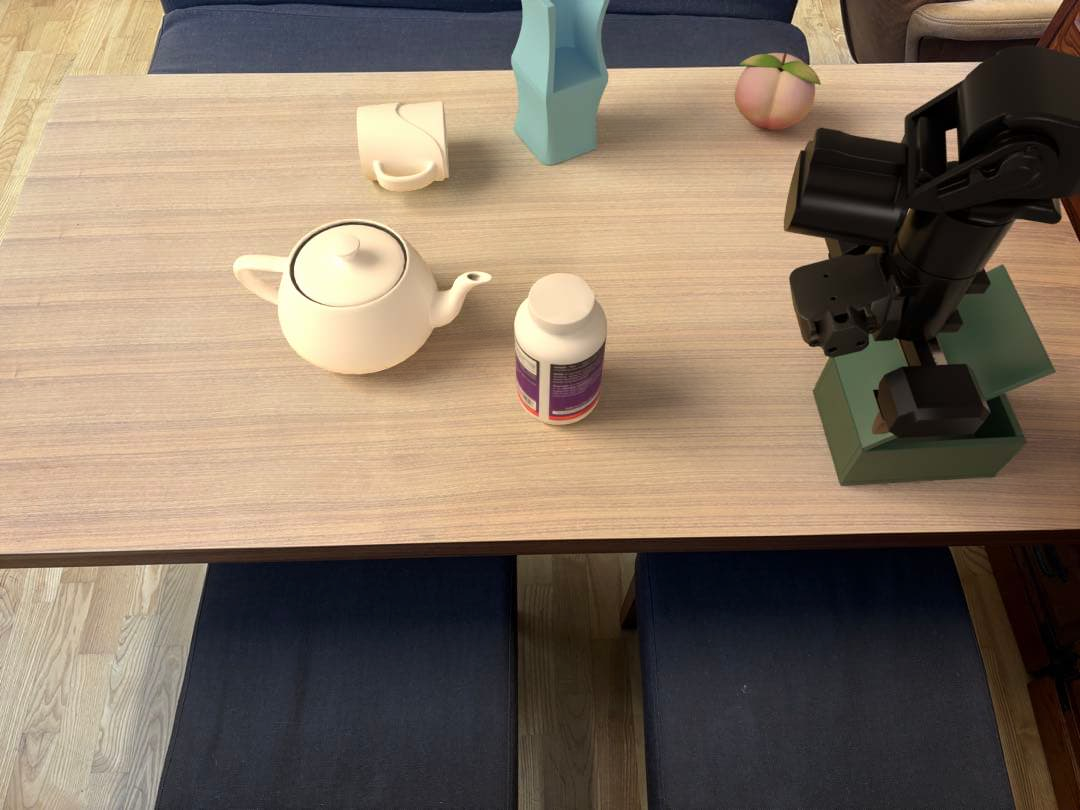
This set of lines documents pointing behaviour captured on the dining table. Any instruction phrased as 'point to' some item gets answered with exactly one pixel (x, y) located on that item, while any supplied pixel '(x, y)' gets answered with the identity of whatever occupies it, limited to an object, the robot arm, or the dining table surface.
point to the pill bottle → (559, 349)
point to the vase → (559, 77)
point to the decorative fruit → (775, 90)
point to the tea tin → (914, 443)
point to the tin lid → (956, 353)
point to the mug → (403, 144)
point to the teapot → (356, 296)
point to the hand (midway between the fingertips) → (862, 383)
